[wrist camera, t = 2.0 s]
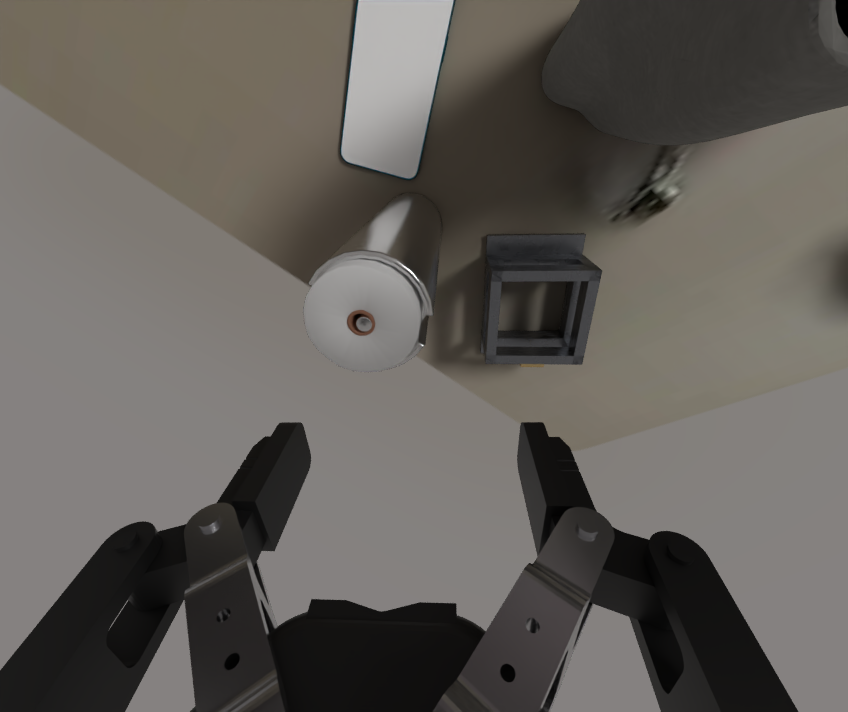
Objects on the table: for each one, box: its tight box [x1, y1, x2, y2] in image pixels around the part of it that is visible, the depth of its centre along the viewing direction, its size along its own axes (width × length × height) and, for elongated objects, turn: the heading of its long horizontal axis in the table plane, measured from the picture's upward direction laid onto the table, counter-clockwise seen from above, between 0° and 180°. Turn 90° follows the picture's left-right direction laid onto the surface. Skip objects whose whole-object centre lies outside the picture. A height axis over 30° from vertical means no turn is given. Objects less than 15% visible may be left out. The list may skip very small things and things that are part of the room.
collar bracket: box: [480, 233, 602, 367], centre depth 40 cm, size 14×10×6 cm
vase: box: [542, 0, 848, 145], centre depth 19 cm, size 12×12×30 cm
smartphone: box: [340, 0, 456, 180], centre depth 33 cm, size 8×1×16 cm
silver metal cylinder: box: [303, 193, 442, 372], centre depth 28 cm, size 6×6×25 cm
